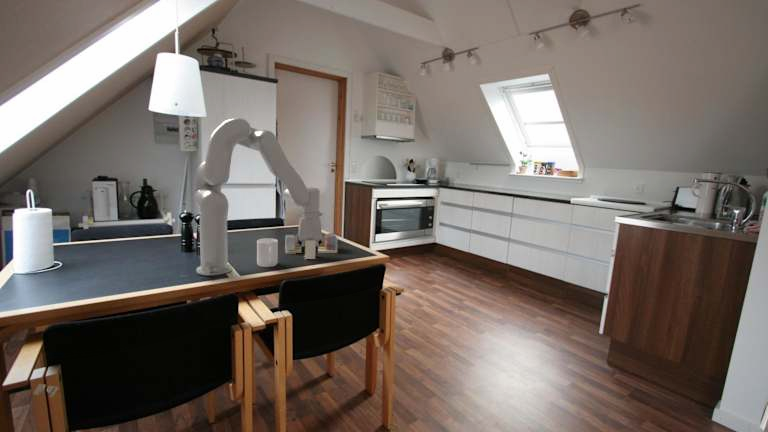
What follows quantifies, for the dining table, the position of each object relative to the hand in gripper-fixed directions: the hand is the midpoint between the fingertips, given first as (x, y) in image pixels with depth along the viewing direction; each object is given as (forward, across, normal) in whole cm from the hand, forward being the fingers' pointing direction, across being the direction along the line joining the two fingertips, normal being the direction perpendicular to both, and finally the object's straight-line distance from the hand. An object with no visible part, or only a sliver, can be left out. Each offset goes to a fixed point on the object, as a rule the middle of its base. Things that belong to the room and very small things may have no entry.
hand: (309, 254), depth 167 cm
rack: (+2, -2, -11) cm, 11 cm away
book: (+2, 0, 0) cm, 2 cm away
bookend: (0, +8, -11) cm, 13 cm away
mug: (+2, +18, +10) cm, 21 cm away
